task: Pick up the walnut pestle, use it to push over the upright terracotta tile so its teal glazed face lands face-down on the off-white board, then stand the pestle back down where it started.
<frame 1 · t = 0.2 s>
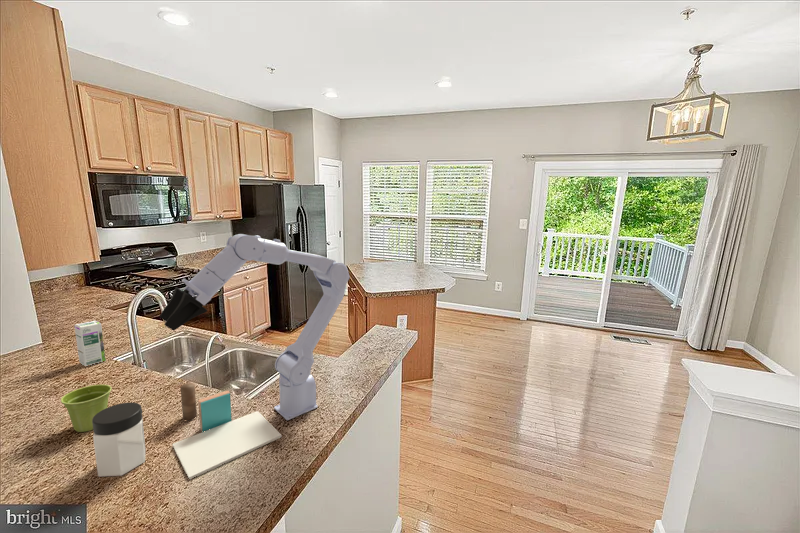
hand: (166, 323, 72), 31 cm above the counter, tool tilted 45°, fingers open, 7 cm apart
tile: (216, 424, 88), on the counter
syrup box: (92, 363, 121), on the counter
board: (228, 441, 82), on the counter
jar: (123, 463, 74), on the counter
pestle: (190, 417, 91), on the counter
plant pot: (91, 425, 87), on the counter
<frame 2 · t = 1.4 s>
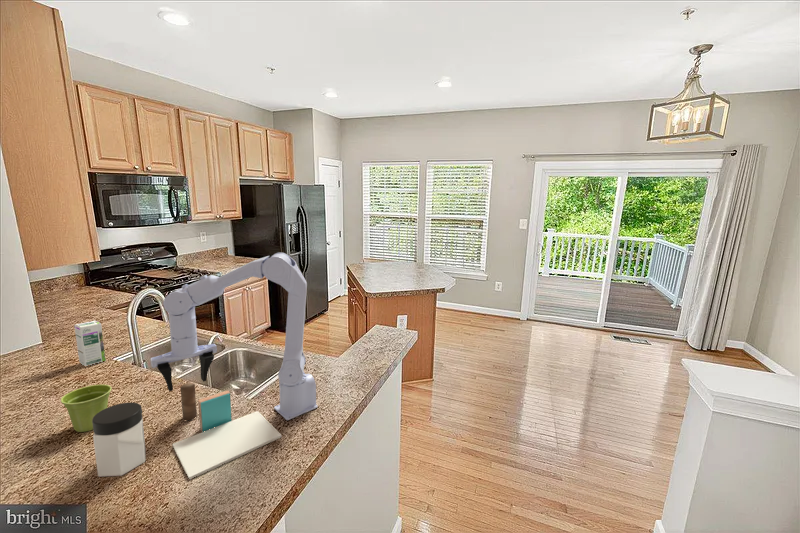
hand: (187, 384, 90), 9 cm above the counter, tool pointing down, fingers open, 7 cm apart
nothing on the counter moved.
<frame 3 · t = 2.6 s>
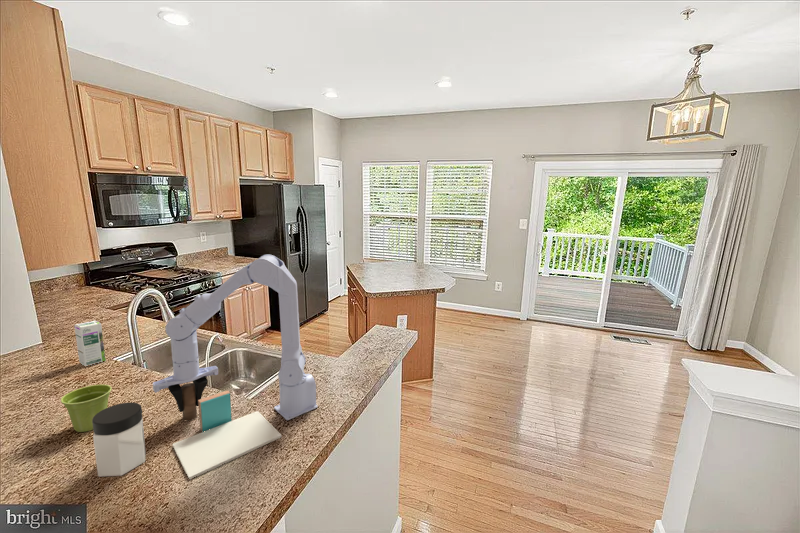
hand: (189, 407, 91), 3 cm above the counter, tool pointing down, fingers closed on pestle, 3 cm apart
pestle: (190, 417, 91), on the counter, touching gripper
everything else where it was.
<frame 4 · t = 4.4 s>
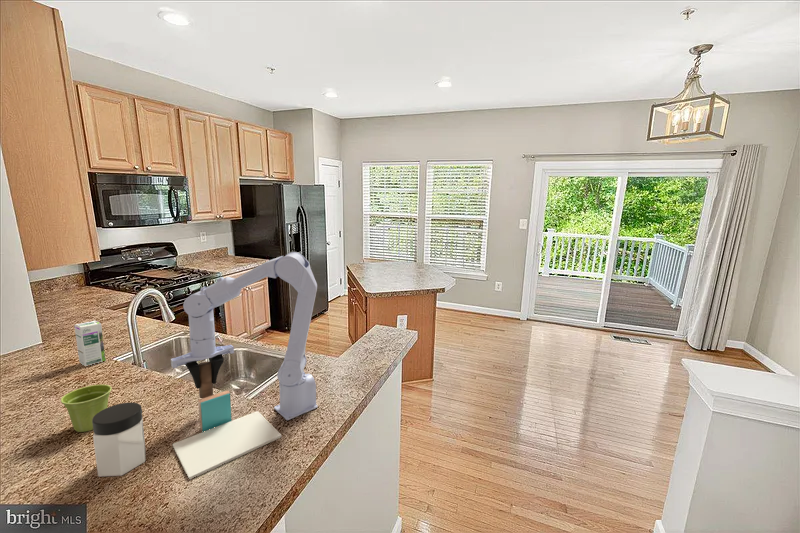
hand: (205, 384, 92), 8 cm above the counter, tool pointing down, fingers closed on pestle, 3 cm apart
pestle: (206, 395, 92), point 5 cm above the counter, touching gripper
everything else where it was.
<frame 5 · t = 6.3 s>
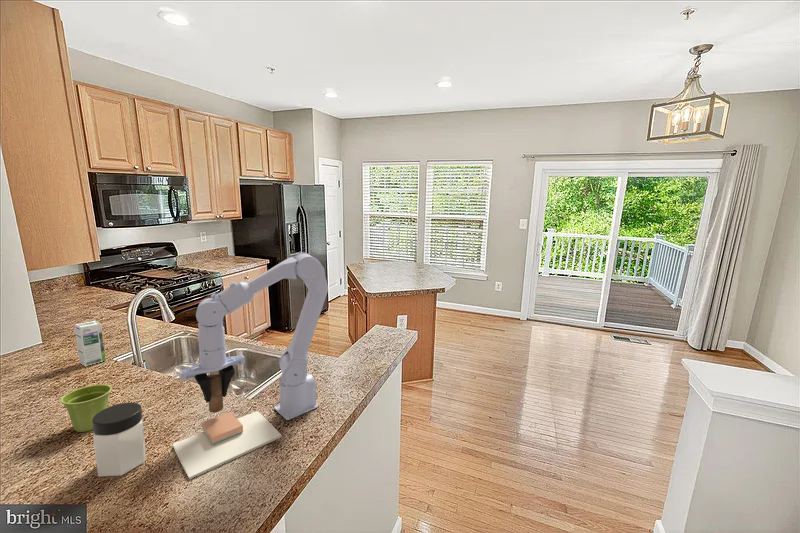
hand: (215, 397, 86), 8 cm above the counter, tool pointing down, fingers closed on pestle, 3 cm apart
tile: (216, 419, 87), point 2 cm above the counter, tilted 90°, touching board
pestle: (216, 408, 87), point 5 cm above the counter, touching gripper
everything else where it was.
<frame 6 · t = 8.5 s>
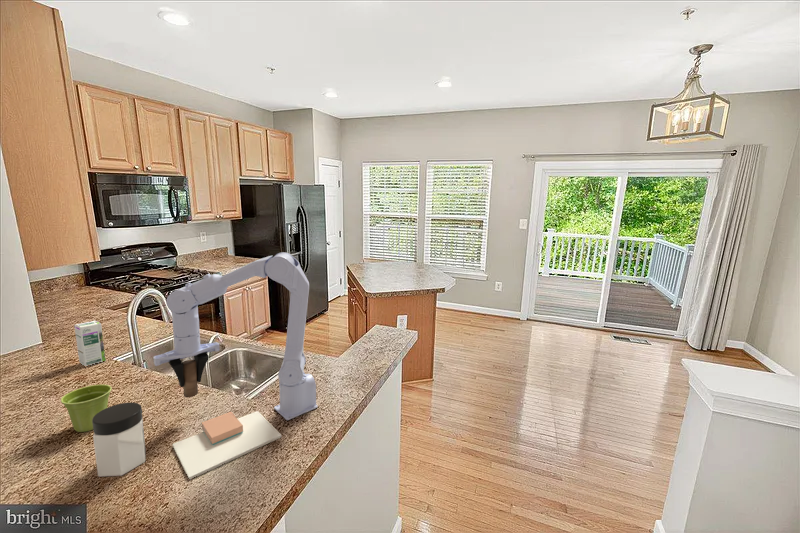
hand: (190, 383, 90), 10 cm above the counter, tool pointing down, fingers closed on pestle, 3 cm apart
pestle: (191, 394, 90), point 7 cm above the counter, touching gripper
everything else where it was.
when the fingers open (4 cm above the counter, at t = 10.3 s): pestle stays where it is, on the counter.
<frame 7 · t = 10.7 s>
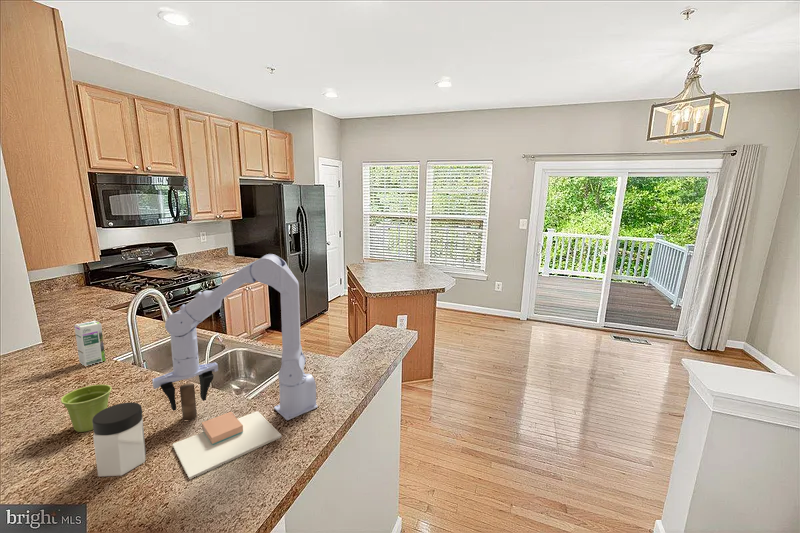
hand: (189, 403, 90), 4 cm above the counter, tool pointing down, fingers open, 6 cm apart
pestle: (189, 417, 91), on the counter
everything else where it was.
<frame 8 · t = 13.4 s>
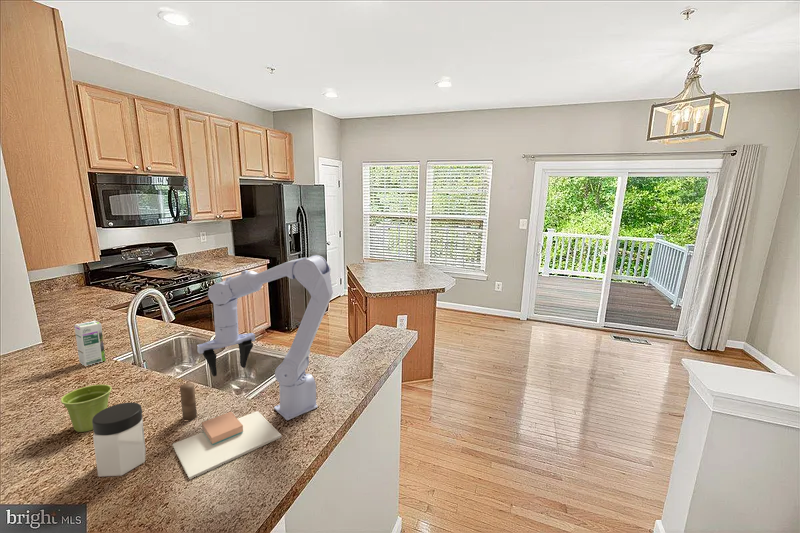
hand: (228, 370, 96), 10 cm above the counter, tool pointing down, fingers open, 7 cm apart
nothing on the counter moved.
at the end: tile tilted 90°; tile touching board; pestle 0.0 cm from the target spot, on the counter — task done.
